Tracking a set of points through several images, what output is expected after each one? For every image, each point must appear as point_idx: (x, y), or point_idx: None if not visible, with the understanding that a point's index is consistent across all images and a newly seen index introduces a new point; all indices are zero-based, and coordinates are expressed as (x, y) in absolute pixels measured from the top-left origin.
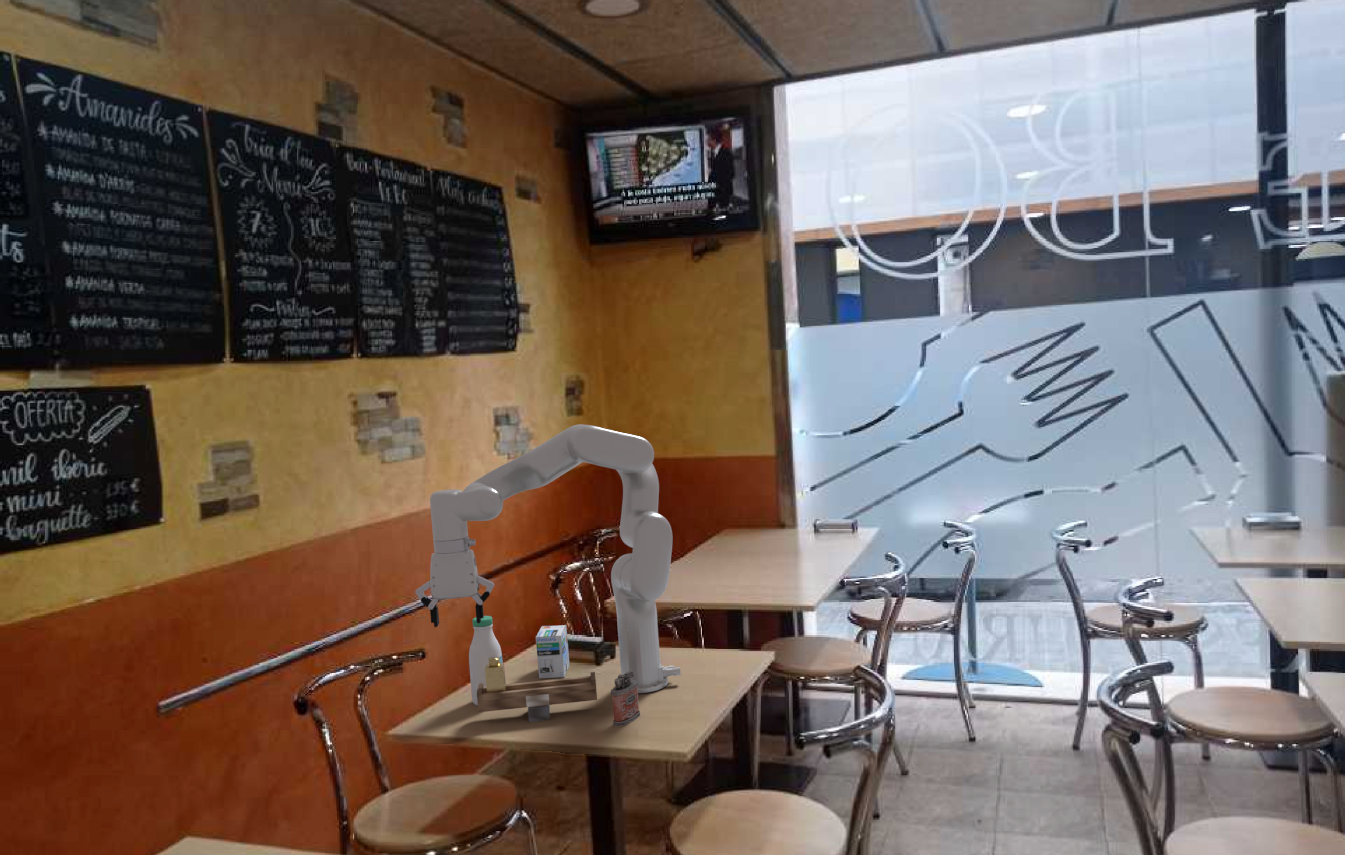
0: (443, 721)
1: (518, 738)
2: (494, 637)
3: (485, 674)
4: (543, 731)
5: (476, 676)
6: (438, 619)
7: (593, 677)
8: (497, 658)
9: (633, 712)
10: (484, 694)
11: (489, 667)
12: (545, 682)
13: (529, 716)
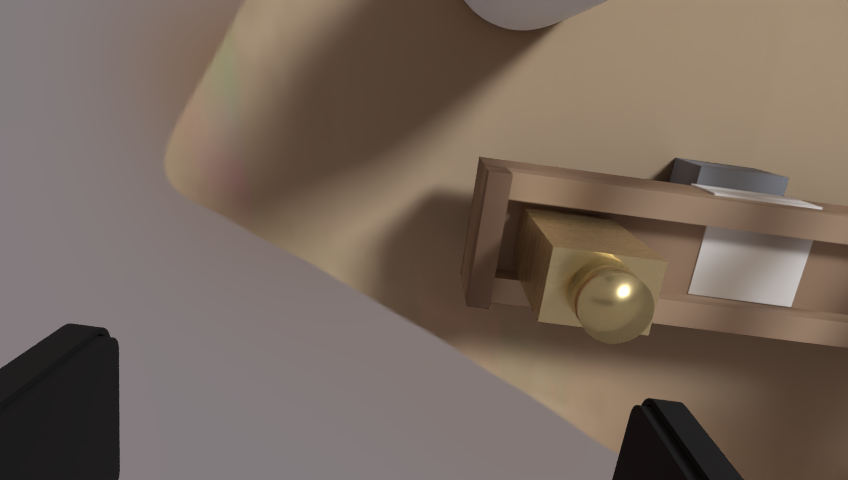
0: (317, 138)
1: (575, 426)
2: None
3: (532, 308)
4: (667, 400)
5: None
6: (80, 406)
7: None
8: (640, 316)
9: None
10: (501, 294)
11: (568, 313)
12: (815, 239)
13: None
